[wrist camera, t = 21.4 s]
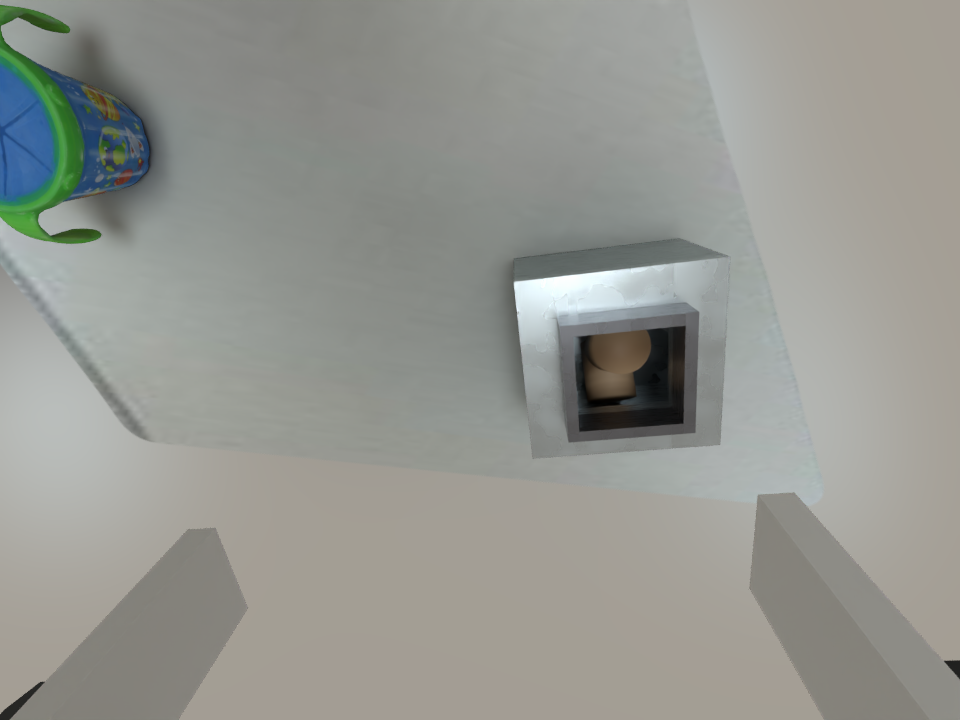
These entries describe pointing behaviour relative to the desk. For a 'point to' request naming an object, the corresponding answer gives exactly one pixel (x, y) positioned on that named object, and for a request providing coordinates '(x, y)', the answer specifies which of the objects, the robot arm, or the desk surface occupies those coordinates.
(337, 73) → the desk surface
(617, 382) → the pellet
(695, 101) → the desk surface
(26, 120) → the snack cup
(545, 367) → the grey block with socket
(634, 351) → the pellet
